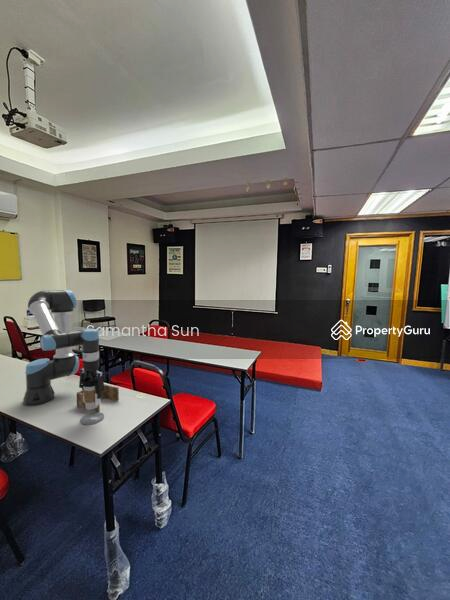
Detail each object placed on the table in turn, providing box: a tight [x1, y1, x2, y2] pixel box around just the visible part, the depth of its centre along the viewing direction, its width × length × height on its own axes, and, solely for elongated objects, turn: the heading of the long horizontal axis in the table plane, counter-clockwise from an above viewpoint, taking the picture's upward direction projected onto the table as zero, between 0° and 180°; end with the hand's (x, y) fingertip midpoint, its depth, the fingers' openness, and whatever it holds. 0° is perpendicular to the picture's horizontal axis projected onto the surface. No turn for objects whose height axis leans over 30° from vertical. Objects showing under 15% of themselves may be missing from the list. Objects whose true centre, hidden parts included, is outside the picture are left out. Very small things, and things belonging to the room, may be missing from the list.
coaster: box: [79, 411, 105, 426], centre depth 134 cm, size 11×11×1 cm
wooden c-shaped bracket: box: [76, 383, 120, 413], centre depth 150 cm, size 16×15×8 cm
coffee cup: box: [82, 377, 99, 411], centre depth 132 cm, size 8×8×15 cm
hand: (92, 402), depth 133 cm, fingers closed on coffee cup, 7 cm apart
